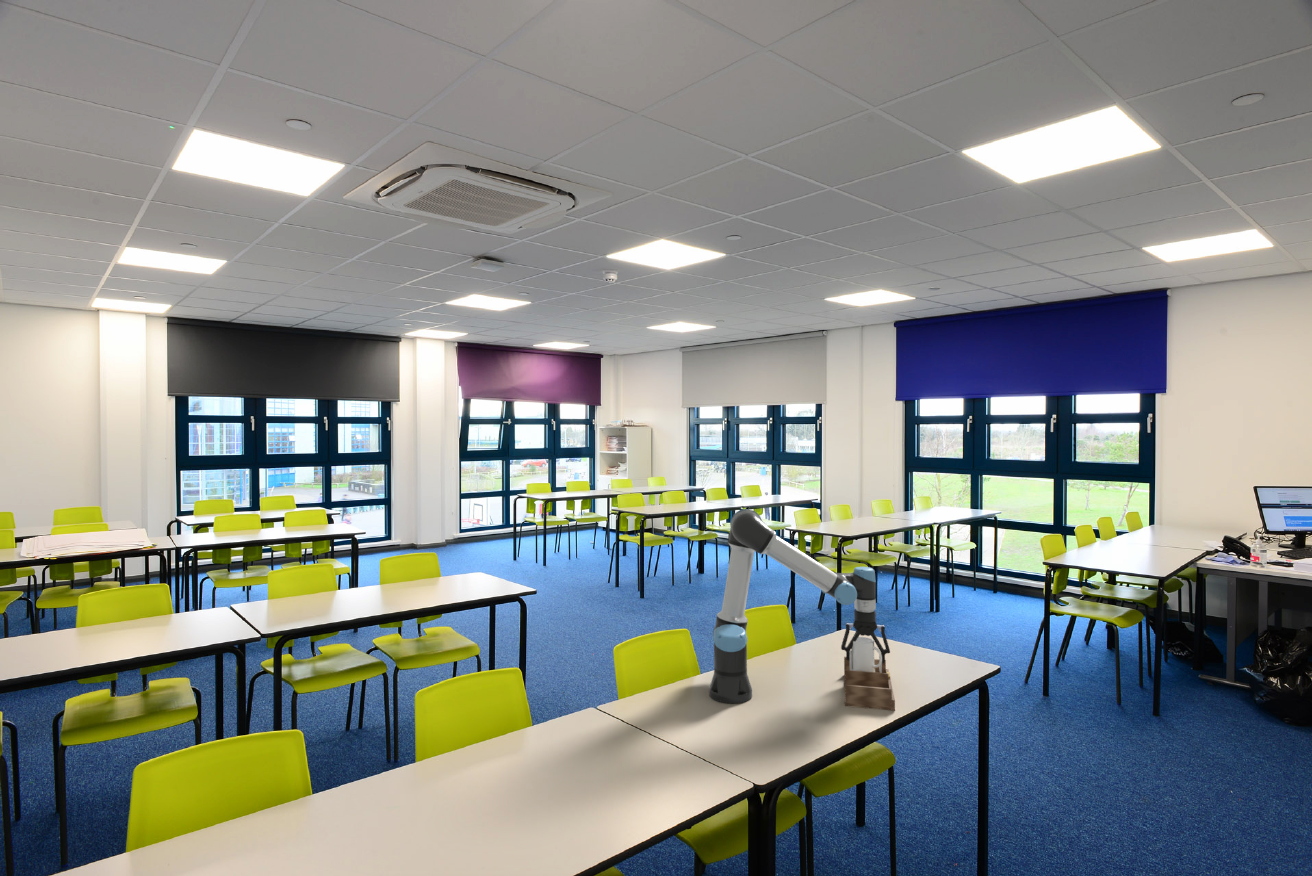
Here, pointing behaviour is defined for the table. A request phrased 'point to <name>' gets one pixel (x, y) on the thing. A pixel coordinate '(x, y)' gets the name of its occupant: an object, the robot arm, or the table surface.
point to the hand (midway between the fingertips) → (865, 670)
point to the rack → (868, 688)
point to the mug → (864, 655)
